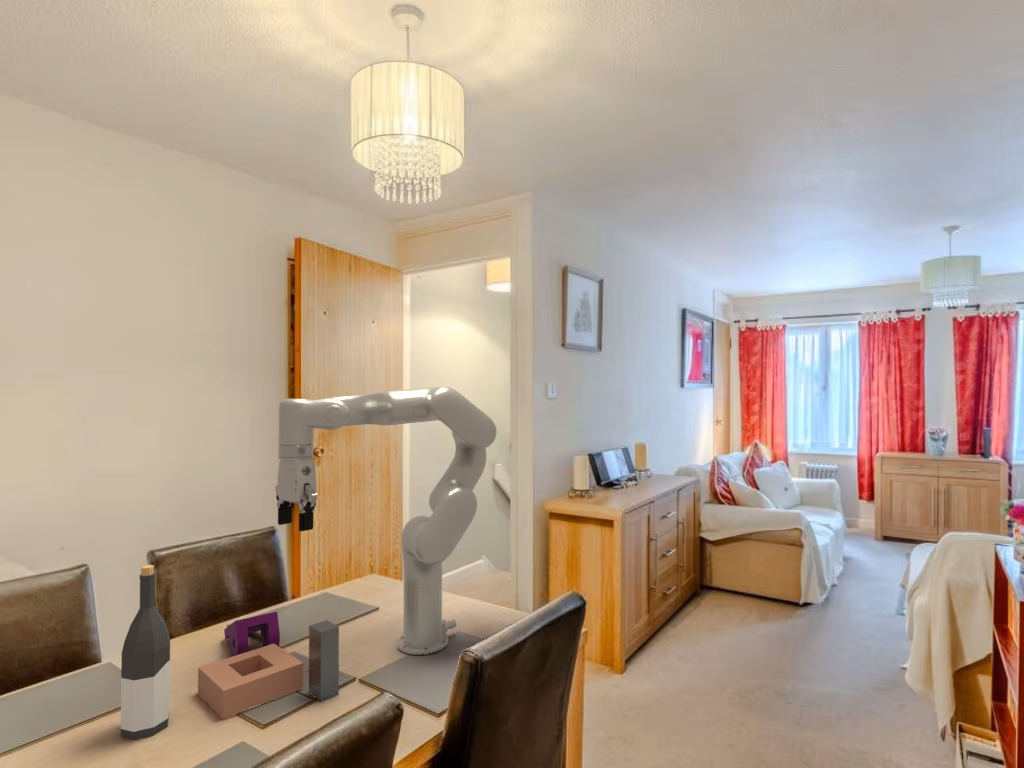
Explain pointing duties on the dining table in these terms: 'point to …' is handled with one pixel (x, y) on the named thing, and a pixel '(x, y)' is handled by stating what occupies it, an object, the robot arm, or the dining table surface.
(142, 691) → the wine bottle
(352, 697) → the dining table surface
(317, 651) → the steel bar
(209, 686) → the well holder
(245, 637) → the mounting bracket
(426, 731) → the dining table surface
